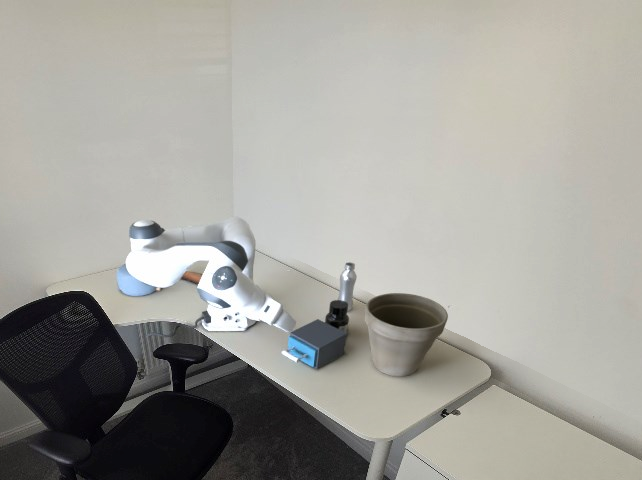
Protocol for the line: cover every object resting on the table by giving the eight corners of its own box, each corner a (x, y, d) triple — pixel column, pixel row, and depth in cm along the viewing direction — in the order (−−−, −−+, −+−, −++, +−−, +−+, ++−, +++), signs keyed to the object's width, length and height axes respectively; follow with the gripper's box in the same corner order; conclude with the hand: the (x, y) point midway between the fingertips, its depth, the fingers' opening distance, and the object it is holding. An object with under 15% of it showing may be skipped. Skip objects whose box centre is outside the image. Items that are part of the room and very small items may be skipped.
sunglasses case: (218, 282, 206) (213, 273, 201) (210, 293, 204) (204, 284, 199) (191, 272, 215) (185, 263, 210) (183, 283, 214) (177, 274, 208)
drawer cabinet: (316, 369, 150) (319, 348, 145) (288, 352, 158) (289, 332, 153) (344, 353, 157) (347, 333, 152) (315, 338, 166) (317, 318, 161)
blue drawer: (301, 374, 146) (303, 357, 142) (275, 358, 154) (276, 342, 150) (338, 353, 156) (341, 337, 152) (313, 339, 164) (314, 323, 160)
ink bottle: (344, 340, 165) (348, 311, 158) (321, 336, 167) (324, 308, 160) (348, 327, 172) (353, 300, 165) (326, 324, 175) (330, 296, 168)
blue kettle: (169, 289, 202) (166, 264, 194) (128, 300, 193) (123, 275, 185) (151, 275, 214) (148, 251, 207) (112, 285, 205) (107, 260, 198)
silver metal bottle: (352, 313, 182) (359, 267, 170) (335, 312, 183) (341, 266, 171) (352, 306, 187) (359, 261, 175) (336, 305, 188) (341, 260, 176)
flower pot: (343, 366, 151) (351, 310, 138) (377, 338, 166) (388, 285, 153) (411, 396, 138) (428, 337, 125) (442, 362, 152) (460, 307, 139)
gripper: (226, 300, 131) (250, 318, 142) (273, 326, 118) (296, 343, 129) (237, 282, 131) (261, 301, 141) (285, 306, 118) (307, 325, 129)
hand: (278, 322), depth 135 cm, fingers closed
